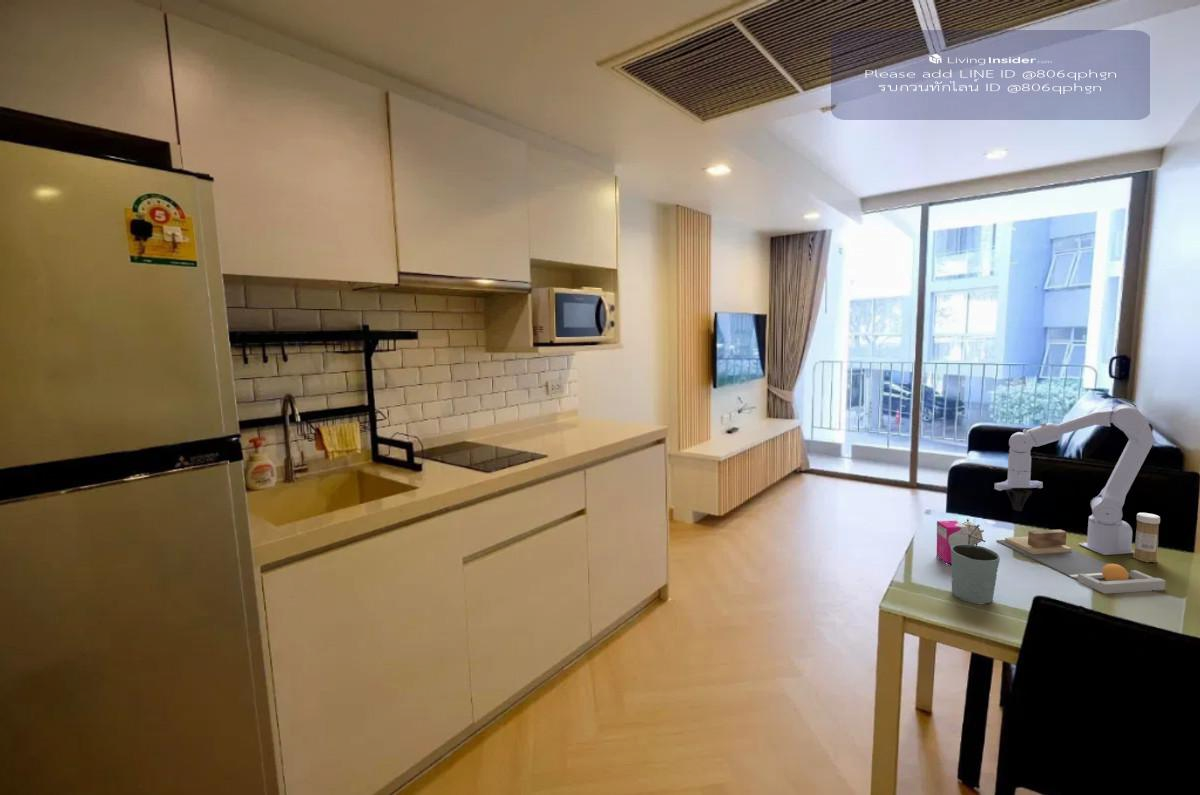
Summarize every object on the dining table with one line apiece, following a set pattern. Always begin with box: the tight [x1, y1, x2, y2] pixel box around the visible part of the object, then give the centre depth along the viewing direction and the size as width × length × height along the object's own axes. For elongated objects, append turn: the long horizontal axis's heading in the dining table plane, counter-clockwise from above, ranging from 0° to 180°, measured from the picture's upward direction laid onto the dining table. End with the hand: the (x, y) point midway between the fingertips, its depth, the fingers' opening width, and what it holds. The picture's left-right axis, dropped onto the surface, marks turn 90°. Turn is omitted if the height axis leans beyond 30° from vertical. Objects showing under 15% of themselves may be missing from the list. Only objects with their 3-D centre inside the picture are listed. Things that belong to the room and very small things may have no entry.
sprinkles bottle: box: [1133, 512, 1161, 563], centre depth 146 cm, size 5×5×13 cm
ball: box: [1102, 563, 1129, 581], centre depth 135 cm, size 5×5×5 cm
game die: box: [961, 518, 986, 546], centre depth 161 cm, size 9×8×10 cm
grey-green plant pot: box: [950, 544, 1001, 604], centre depth 132 cm, size 10×10×12 cm
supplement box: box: [936, 520, 968, 565], centre depth 152 cm, size 6×6×12 cm
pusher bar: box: [1027, 528, 1068, 547], centre depth 155 cm, size 10×2×4 cm, turn 92°
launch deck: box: [996, 535, 1166, 595], centre depth 147 cm, size 16×34×2 cm, turn 2°
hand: (1017, 510), depth 167 cm, fingers closed
